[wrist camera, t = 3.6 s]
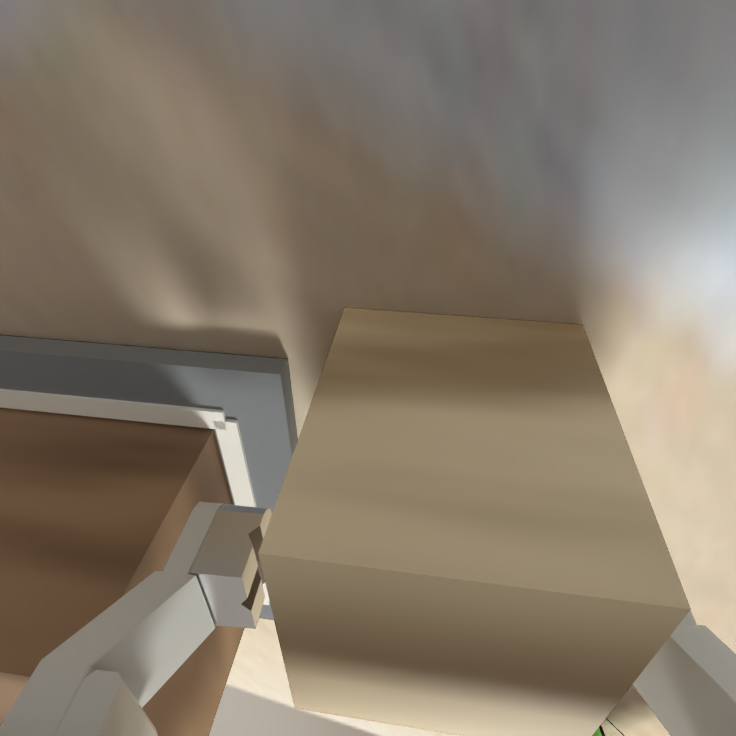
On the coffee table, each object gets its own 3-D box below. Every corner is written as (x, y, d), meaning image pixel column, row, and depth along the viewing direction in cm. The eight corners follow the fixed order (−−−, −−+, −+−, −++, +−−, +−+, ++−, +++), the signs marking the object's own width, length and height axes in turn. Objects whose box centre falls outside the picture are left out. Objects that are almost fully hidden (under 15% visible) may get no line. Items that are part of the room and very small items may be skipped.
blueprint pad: (-151, 322, 13) (-177, 337, 13) (287, 359, 12) (279, 377, 11) (34, 570, 20) (22, 586, 20) (318, 610, 19) (314, 628, 19)
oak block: (344, 307, 11) (259, 552, 6) (582, 324, 10) (690, 608, 6) (350, 463, 14) (295, 708, 9) (534, 482, 13) (577, 755, 9)
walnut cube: (-63, 400, 14) (-334, 615, 9) (214, 428, 13) (72, 684, 8) (50, 562, 19) (-89, 758, 14) (256, 591, 18) (183, 810, 13)
